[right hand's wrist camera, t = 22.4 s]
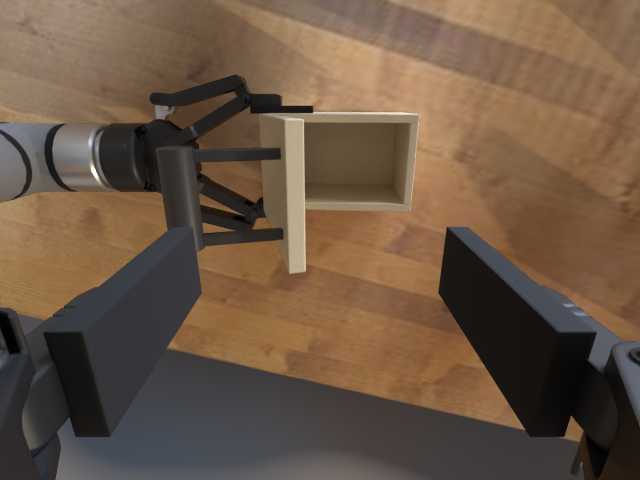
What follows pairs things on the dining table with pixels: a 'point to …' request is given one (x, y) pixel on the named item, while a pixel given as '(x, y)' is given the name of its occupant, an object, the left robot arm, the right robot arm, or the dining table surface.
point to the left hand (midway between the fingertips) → (313, 158)
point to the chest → (358, 160)
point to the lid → (277, 180)
